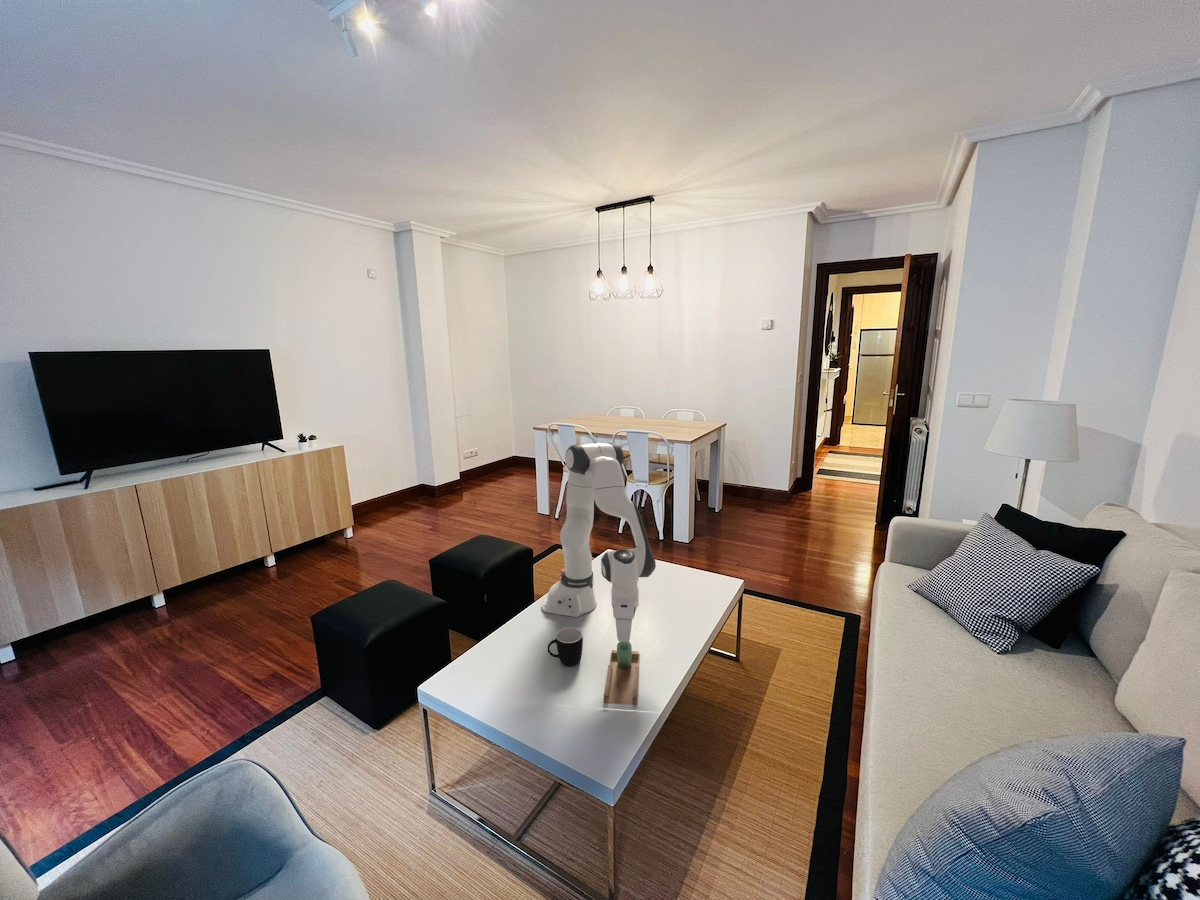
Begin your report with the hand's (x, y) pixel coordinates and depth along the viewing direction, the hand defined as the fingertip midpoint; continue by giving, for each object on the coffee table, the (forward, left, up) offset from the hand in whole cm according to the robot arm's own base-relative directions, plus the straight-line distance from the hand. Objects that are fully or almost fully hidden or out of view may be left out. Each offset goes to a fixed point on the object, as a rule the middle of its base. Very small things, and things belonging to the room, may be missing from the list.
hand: (625, 637), depth 159 cm
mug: (-20, 0, -11) cm, 23 cm away
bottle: (0, 0, -9) cm, 9 cm away
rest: (0, -6, -10) cm, 12 cm away
